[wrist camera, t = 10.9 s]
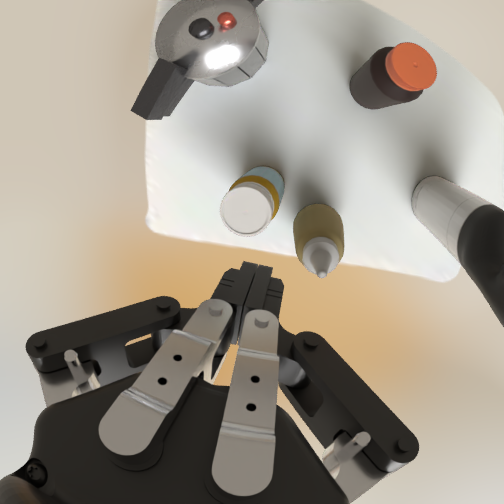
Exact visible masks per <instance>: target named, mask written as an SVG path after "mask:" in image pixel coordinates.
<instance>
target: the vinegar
mask: <svg viewBox="0 0 504 504" xmlns="http://www.w3.org/2000/svg"><path fill="white" fill-rule="evenodd" d="M436 70H437V69H436V65H435V63H434V61H433V59H432V57H431V56H430V54H429V53H428V52H427V51H426V50H425V49H423V48H422V47H420V46H418V45H416V44H414V43H410V42H409V43H408V42H407V43H406V42H405V43H400V44H398V45H397V46H395V47H385V48H382V49H380V50H378V51H377V52H376V53H375V54H374V55H373V56H372V57H371V58H370V59H369V60H368V61H367V62H366V63H365V64H364V65H363V66H362V67H361V68H360V69H359V70H358V72H357V73H356V74H355V75H354V76H353V77H352V79H351V81H350V91H351V95H352V96H353V98H354V99H355V101H356V102H357V103H358V104H360V105H361V106H363V107H365V108H368V109H380V108H384V107H388V106H392V105H397V104H401V103H406V102H410V101H412V100H415V99H417V98H418V97H419V96H420V95H421V94H422V92H423V89H426V88H429V87H430V86H431V85H433V84H434V81H435V79H436V76H437V75H436V74H437V73H436V72H437V71H436Z"/></svg>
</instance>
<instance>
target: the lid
mask: <svg viewBox="0 0 504 504" xmlns="http://www.w3.org/2000/svg"><path fill="white" fill-rule="evenodd" d="M259 37H260V20H259V17H258V14H257V12H256V10H255V9H254V7H253V6H252V4H251V3H250V2H249V1H248V0H181V1H180V2H178V3H177V4H176V5H175V6H173V7H172V8H171V9H170V10H169V11H168V13H167V14H166V15H165V16H164V18H163V19H162V21H161V23H160V25H159V27H158V30H157V33H156V39H155V46H156V52H157V55H158V57H159V59H158V61H157V63H156V64H155V66H154V68H153V69H152V71H151V73H150V75H149V77H148V78H147V80H146V82H145V84H144V86H143V87H142V89H141V91H140V93H139V95H138V97H137V99H136V101H135V103H134V105H133V107H132V109H131V111H132V112H134V113H136V114H137V115H139V116H141V117H143V118H144V119H146V120H162V118H163V116H164V114H165V112H166V110H167V109H168V107H169V105H170V103H171V101H172V100H173V98H174V96H175V94H176V93H177V91H178V89H179V88H180V86H181V84H182V83H183V81H184V79H185V78H189V79H196V80H203V79H211V78H215V77H219V76H221V75H224V74H226V73H228V72H230V71H232V70H234V69H235V68H237V67H238V66H240V65H241V64H242V63H243V62H244V61H245V60H246V59H247V58H248V57H249V56H250V55H251V54H252V52H253V50H254V49H255V47H256V45H257V43H258V40H259Z"/></svg>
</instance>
